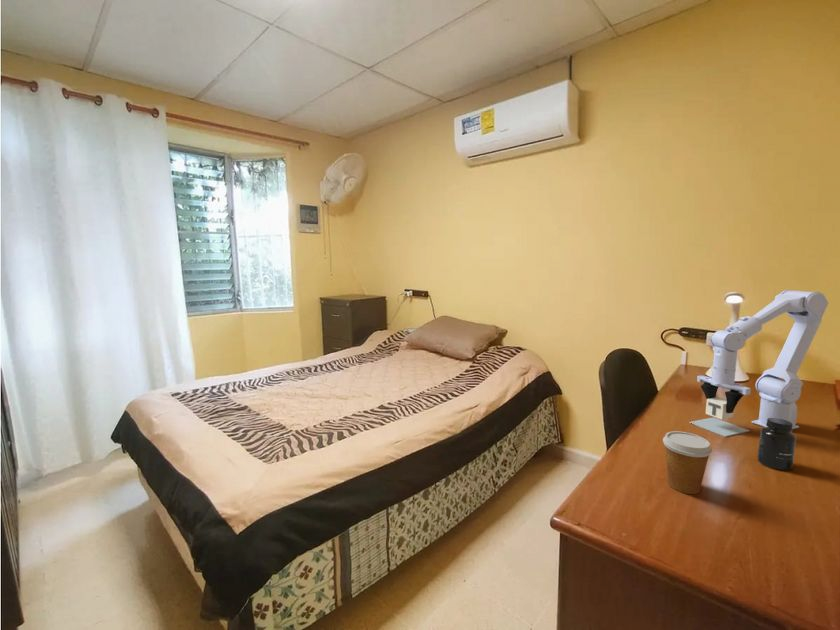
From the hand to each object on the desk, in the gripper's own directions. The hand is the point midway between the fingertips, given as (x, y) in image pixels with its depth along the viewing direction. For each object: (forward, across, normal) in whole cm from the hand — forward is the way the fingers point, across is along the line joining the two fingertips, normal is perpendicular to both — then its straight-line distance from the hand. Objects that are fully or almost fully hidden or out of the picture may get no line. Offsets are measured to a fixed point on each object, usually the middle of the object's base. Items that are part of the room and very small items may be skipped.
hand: (720, 409), depth 120 cm
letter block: (+2, 0, 0) cm, 2 cm away
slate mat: (+6, 0, 0) cm, 6 cm away
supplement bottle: (+6, +21, -10) cm, 24 cm away
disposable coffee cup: (+6, +20, -42) cm, 47 cm away
